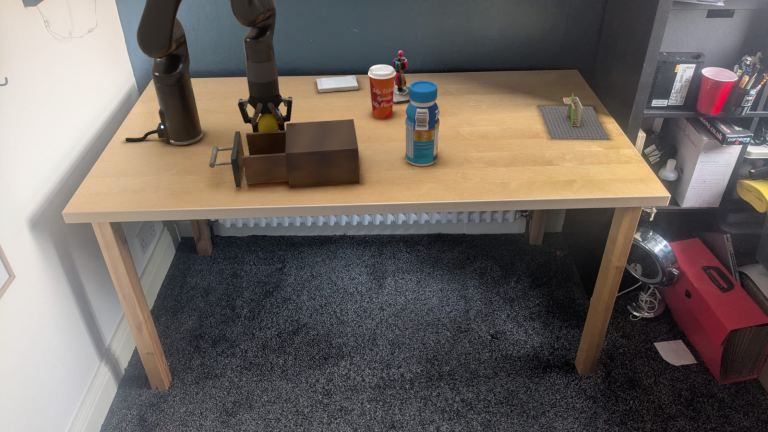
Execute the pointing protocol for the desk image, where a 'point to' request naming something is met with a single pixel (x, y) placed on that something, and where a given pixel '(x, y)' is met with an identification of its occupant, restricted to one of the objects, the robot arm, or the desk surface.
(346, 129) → the cabinet
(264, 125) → the lemon
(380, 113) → the paper cup
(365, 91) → the desk surface
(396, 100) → the statue
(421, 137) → the beverage bottle
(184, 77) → the robot arm
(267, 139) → the drawer
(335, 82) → the hard drive
